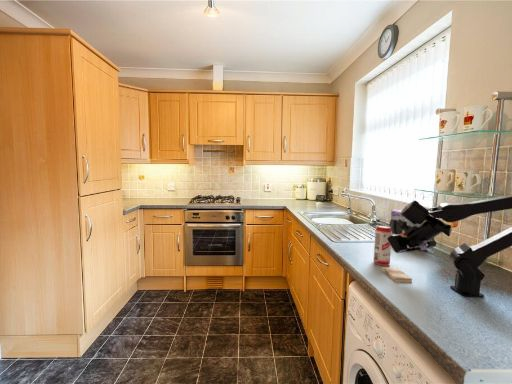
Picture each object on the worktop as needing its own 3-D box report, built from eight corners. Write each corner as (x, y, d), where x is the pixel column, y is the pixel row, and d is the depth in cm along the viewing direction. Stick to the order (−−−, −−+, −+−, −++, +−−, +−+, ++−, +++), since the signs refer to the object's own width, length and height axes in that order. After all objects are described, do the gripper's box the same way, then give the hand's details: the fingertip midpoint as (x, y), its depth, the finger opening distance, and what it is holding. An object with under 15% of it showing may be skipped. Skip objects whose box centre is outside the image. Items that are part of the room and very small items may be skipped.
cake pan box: (387, 240, 144) (389, 209, 142) (394, 239, 146) (396, 208, 144) (421, 251, 127) (424, 215, 125) (428, 250, 129) (431, 215, 127)
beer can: (370, 261, 113) (372, 225, 111) (381, 260, 115) (383, 224, 113) (381, 267, 107) (384, 228, 105) (393, 265, 109) (396, 227, 107)
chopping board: (411, 281, 94) (412, 278, 94) (394, 281, 94) (395, 278, 94) (397, 270, 104) (397, 267, 104) (381, 270, 104) (382, 267, 104)
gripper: (431, 211, 99) (403, 232, 111) (393, 213, 93) (368, 235, 104) (450, 237, 93) (419, 256, 104) (411, 241, 86) (382, 261, 98)
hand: (397, 251), depth 103 cm, fingers closed
